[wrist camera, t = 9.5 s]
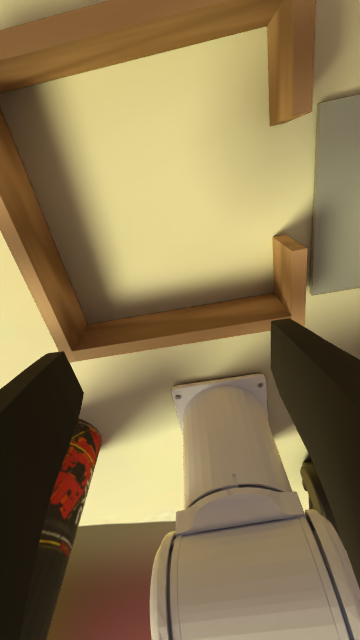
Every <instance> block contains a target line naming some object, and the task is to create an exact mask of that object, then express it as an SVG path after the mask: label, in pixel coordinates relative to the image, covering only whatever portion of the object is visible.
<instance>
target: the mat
mask: <svg viewBox="0 0 360 640" xmlns="http://www.w3.org/2000/svg"><path fill="white" fill-rule="evenodd" d="M355 288H360V94H358V95H353V96H349V97H345V98H340V99H336V100H331V101H327V102H322V103H319V104H317V128H316V152H315V176H314V200H313V225H312V249H311V273H310V294H311V295H312V296H313V295H319V294H325V293H331V292H337V291H343V290H349V289H355Z"/></svg>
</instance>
